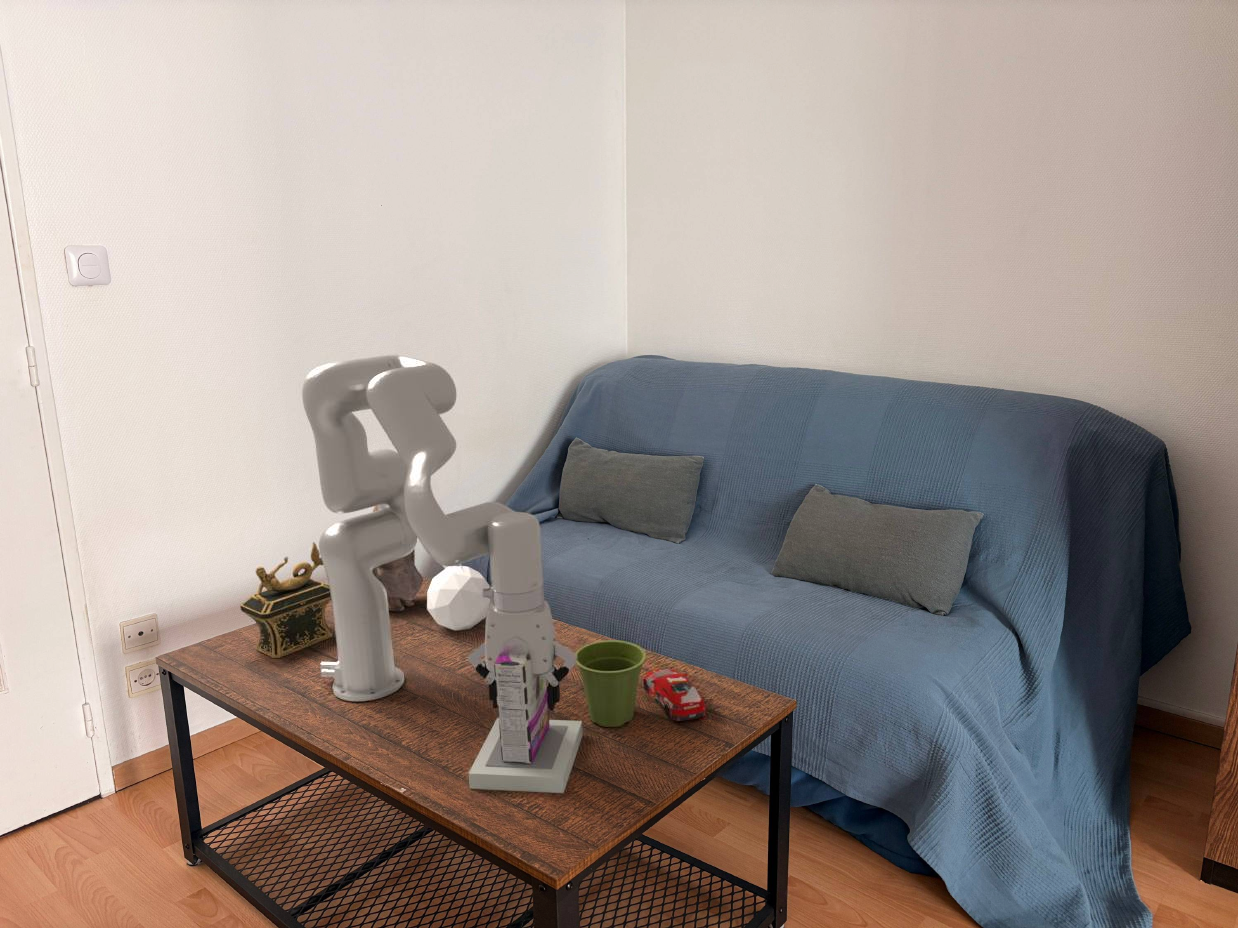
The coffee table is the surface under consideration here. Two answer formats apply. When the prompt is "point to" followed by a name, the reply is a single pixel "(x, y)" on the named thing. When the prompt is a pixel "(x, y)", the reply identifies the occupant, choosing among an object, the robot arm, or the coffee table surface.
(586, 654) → the plant pot
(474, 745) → the coffee table surface
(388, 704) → the coffee table surface
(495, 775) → the picture frame
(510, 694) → the candy bar box
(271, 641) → the decorative box
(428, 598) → the geodesic sphere
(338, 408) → the robot arm
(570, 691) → the coffee table surface
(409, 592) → the clay figurine
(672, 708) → the race car
